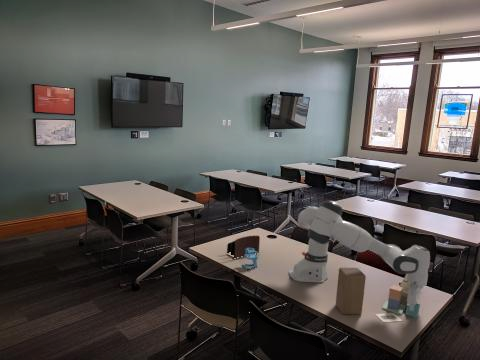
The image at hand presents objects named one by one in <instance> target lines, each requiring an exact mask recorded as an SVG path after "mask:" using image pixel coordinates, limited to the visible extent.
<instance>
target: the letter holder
mask: <svg viewBox="0 0 480 360" xmlns="http://www.w3.org/2000/svg"><path fill="white" fill-rule="evenodd" d="M260 241H261V238H260V235H247V236H243V237H239V238H237V239H235V240H233V241H231V242H229V243H227V246H226V254H227V253H229V252H231V255H234V258H237V257H241V256H244V254H246V251H245V249H247V248H253V249H255V250H254V251H256V252H258V253H259V254H260ZM249 250H251V249H249ZM247 254H248V252H247ZM250 254H253V253H250ZM254 254H255V253H254Z"/></svg>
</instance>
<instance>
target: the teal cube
mask: <svg viewBox="0 0 480 360" xmlns="http://www.w3.org/2000/svg"><path fill="white" fill-rule="evenodd" d="M409 307H410V306H409V304H407V306H406V307H405V308H406V310H405V315H406V316H409V317H412V318H416V319H417V318H418V316H419V314H420V307H421V304H420V303H418V302H417V303H416V304H415V305H414V310H413V311H411V310H409Z"/></svg>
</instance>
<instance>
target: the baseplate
mask: <svg viewBox="0 0 480 360" xmlns="http://www.w3.org/2000/svg"><path fill="white" fill-rule="evenodd" d="M400 304H401V299H400V301H398V300H394V299H391V298H389V297H388V300H386V301H385V302H384V304H383V305H382V307H381V309H382V310H384V311H388V312H389V313H393V312H394V314H396V315H400V316H402V315H403V313H404V311H405V308H406V306H404V305H400Z"/></svg>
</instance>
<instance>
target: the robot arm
mask: <svg viewBox="0 0 480 360" xmlns="http://www.w3.org/2000/svg"><path fill="white" fill-rule="evenodd" d="M342 214H343V208H342V206H341V205H340V204H339V203H338V202H337V201H334V200H328V199H327V200H325V201H323V202H322V203H319V204H318V207H317V206H314V205H313V206H308V207H306V208H305V209H304V210H302V211H301V212H300V213H299V214H298V217H297V221H298V225H299V226H300V227H301V228H305V229H307V231H308V232H307V237H308V238H309V239H308V244H307V245H308V247H307V252H305V251H302V252H301V255H302V256H303V258H302V259H301V260H299V261H297V262H296V263H294V266H293V269H291V270H289V276H290V277H291V278H292V280H294V281H295V282H301V283H324V281H326V280H328V278H329V276H328V270H327V267H328V265H327V263H328V260H329V259H328V257H329V255H328V248H329V243H332V240H331V239H334V240H336V241H337V242H339V243H340V244H341V245H343V246H345V247H346V248H348V249H350V250H353V251H355V252H358V253H363V252H366V251H371V252H372V253H374V254H376V255H378V256H379V257H380V258H381V259H382V260H383V262H385V263H386V264H388V266H390V267H391V269H392V270H394V272H396V273H398V274H399V275H406V274H407V279H406V281H407V282H408V283H409V285H410V287H409V291H408V297H407V303H408V304H409V306H410V307H409V310H411V311H413V310H414V305H415V304H416V303H417V304H418V301H419V300H418V299H419V297H420V295H421V293H422V290H423V288H424V287H426V286H427V283H428V277H429V273H428V271H429V268H430V263H431V262H430V261H431V254H430V253H431V252H430V251H429V249H427V248H426V247H424V246H422V245H417V244H413V245H412V246H411V247H409V248H407V249H405V250H402V249H401V247H400V246H398V245H396V244H391V243H390V244H389V243H384V242H382V241H380V240H378V239H376V238H374V237H373V236H372V235H371V234H370V233H369V232H368V231H367V230H365V229H364V228H362V227H361V226H359V225H357V224H354V223H352V222H350V221H346V220H343V218H342Z"/></svg>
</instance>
